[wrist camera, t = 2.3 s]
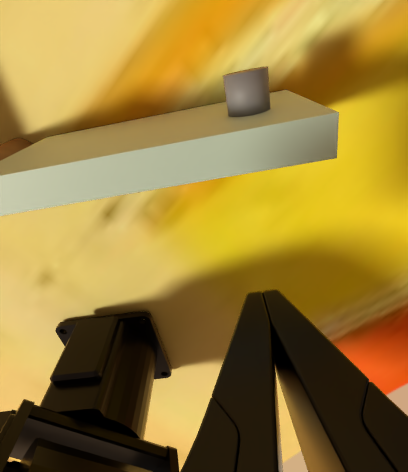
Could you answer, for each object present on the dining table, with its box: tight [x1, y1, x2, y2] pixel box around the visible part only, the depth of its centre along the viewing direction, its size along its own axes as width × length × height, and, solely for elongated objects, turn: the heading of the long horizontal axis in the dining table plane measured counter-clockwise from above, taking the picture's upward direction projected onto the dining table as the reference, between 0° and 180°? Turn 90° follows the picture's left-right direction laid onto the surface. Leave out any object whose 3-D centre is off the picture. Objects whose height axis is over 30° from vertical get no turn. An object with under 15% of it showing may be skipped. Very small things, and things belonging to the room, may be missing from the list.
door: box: [0, 67, 339, 216], centre depth 11 cm, size 11×2×6 cm, turn 100°
